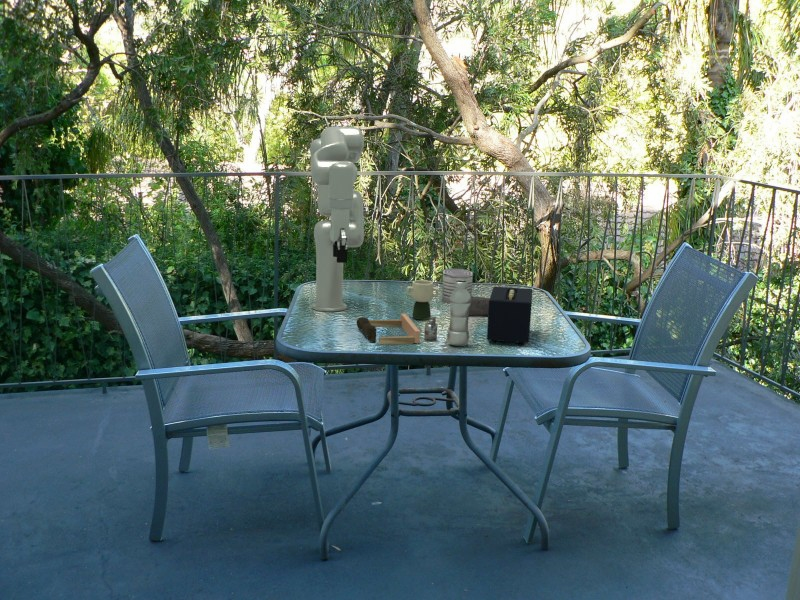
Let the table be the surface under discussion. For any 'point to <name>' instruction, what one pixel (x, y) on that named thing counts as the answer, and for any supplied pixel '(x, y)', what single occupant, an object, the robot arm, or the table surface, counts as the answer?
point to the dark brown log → (367, 329)
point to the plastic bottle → (459, 314)
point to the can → (450, 279)
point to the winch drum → (431, 330)
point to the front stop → (410, 328)
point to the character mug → (422, 297)
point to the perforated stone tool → (479, 306)
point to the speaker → (509, 315)
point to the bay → (392, 339)
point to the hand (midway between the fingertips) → (339, 259)
